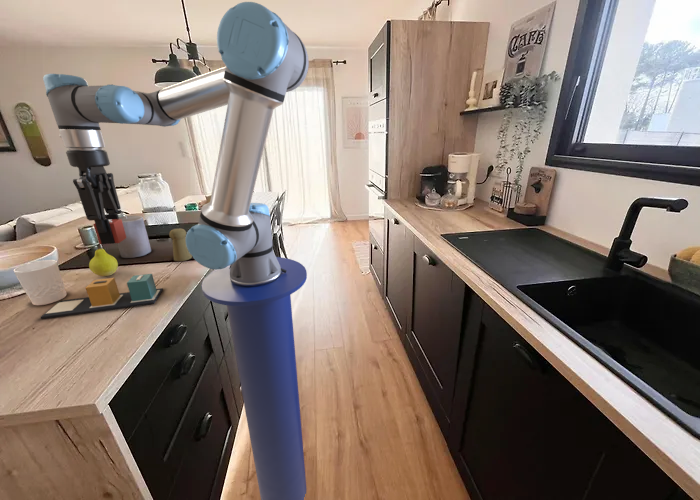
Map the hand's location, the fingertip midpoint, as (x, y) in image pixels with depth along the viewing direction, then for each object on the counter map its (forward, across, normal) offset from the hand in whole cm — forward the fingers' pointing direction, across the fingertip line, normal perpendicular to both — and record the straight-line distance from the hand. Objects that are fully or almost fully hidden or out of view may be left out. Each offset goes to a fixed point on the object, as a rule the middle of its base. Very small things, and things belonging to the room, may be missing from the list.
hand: (113, 240), depth 78 cm
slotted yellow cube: (+14, +7, -2) cm, 16 cm away
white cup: (+16, +1, -18) cm, 24 cm away
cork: (+15, -22, +9) cm, 28 cm away
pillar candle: (+16, -31, -9) cm, 36 cm away
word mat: (+15, +7, -2) cm, 17 cm away
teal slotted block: (+14, +7, +7) cm, 17 cm away
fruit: (+16, -12, -10) cm, 22 cm away
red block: (0, 0, 0) cm, 0 cm away
